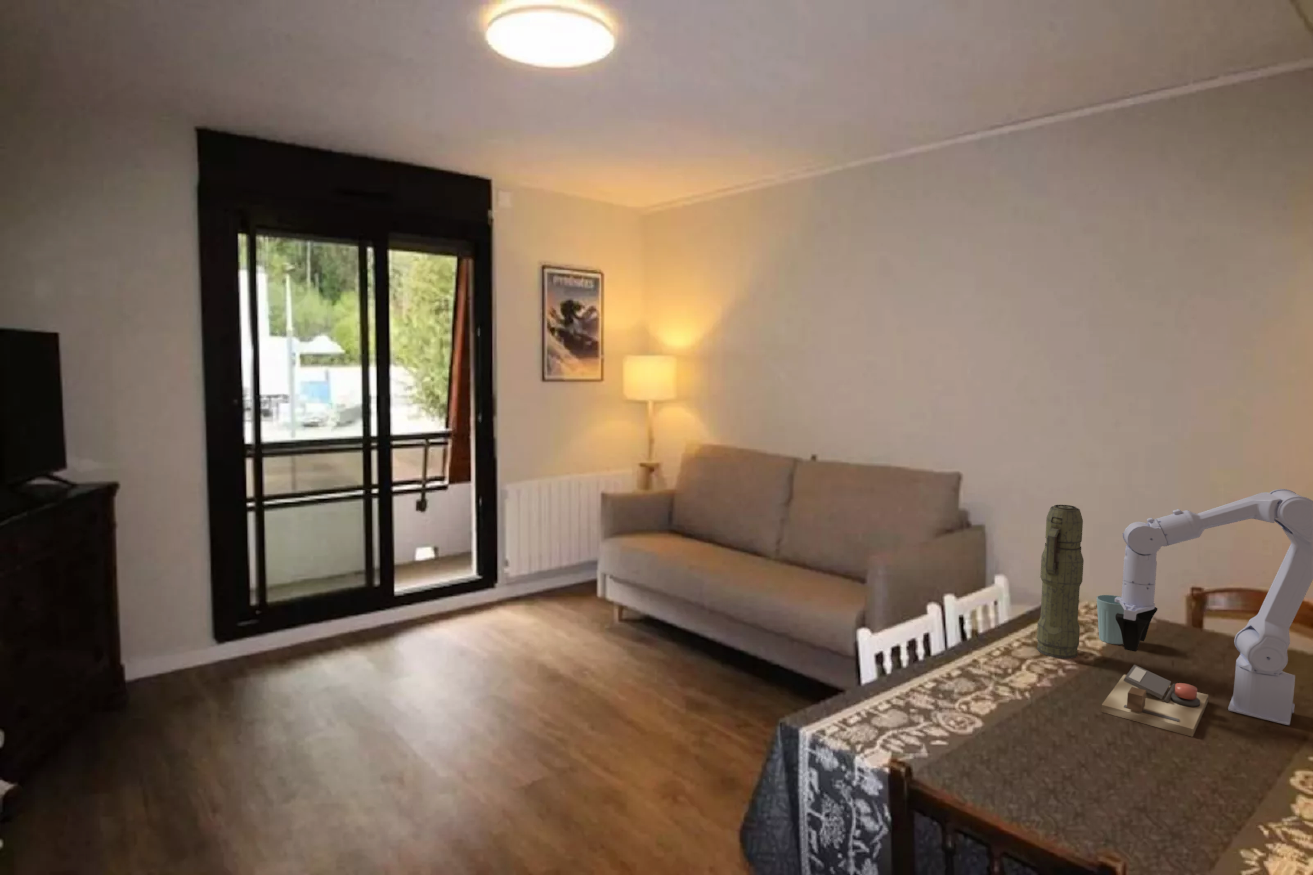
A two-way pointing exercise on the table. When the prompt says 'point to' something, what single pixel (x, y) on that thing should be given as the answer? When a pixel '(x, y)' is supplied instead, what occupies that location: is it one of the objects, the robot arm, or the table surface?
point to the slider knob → (1136, 699)
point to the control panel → (1158, 709)
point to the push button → (1185, 691)
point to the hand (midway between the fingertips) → (1134, 644)
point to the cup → (1109, 619)
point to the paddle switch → (1147, 681)
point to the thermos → (1061, 583)
